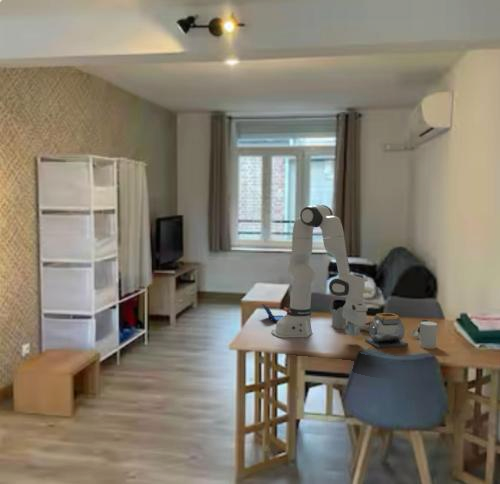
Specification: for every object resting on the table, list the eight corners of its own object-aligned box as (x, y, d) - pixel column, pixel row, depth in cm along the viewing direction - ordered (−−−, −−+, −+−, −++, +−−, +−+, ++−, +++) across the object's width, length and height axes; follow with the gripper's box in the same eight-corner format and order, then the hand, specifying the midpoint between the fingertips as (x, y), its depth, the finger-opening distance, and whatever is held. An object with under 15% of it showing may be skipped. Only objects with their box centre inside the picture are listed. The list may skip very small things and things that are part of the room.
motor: (378, 348, 276) (380, 319, 274) (364, 340, 289) (366, 312, 287) (408, 346, 281) (409, 317, 279) (393, 338, 294) (394, 311, 293)
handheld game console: (290, 323, 325) (290, 308, 324) (268, 324, 322) (268, 308, 321) (282, 317, 340) (282, 302, 339) (261, 318, 337) (261, 303, 336)
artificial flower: (433, 334, 311) (438, 318, 308) (420, 347, 293) (426, 331, 290) (418, 327, 316) (423, 312, 312) (405, 340, 298) (410, 324, 294)
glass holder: (336, 328, 313) (337, 303, 312) (323, 323, 326) (324, 298, 324) (349, 327, 317) (350, 302, 315) (335, 322, 329) (336, 297, 328)
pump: (345, 335, 280) (346, 325, 280) (341, 332, 285) (342, 323, 284) (359, 334, 282) (360, 325, 282) (355, 332, 287) (356, 323, 286)
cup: (438, 348, 277) (439, 325, 276) (422, 348, 277) (424, 325, 275) (432, 344, 285) (433, 321, 284) (416, 344, 285) (417, 321, 283)
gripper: (340, 300, 292) (338, 325, 293) (357, 308, 272) (355, 336, 273) (351, 300, 293) (349, 325, 294) (369, 308, 274) (367, 335, 275)
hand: (352, 330), depth 284 cm, fingers closed on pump, 4 cm apart
